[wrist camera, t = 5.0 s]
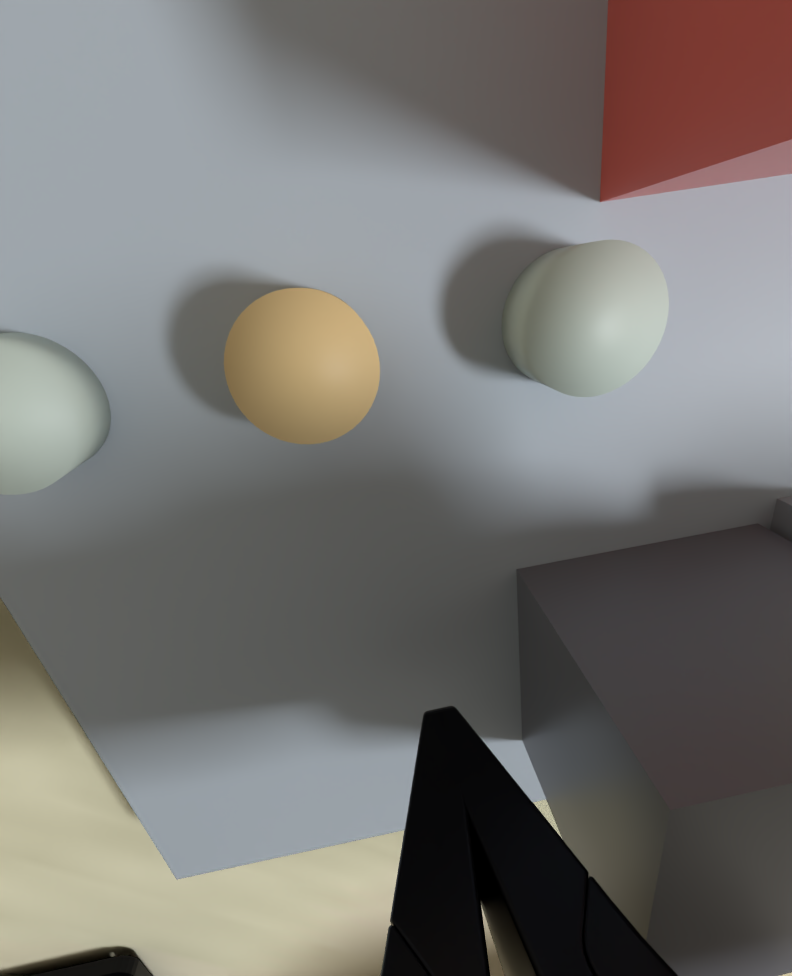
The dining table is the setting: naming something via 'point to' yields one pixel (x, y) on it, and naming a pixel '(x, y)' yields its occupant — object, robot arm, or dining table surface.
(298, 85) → the panel
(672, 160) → the coral cube
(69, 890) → the dining table surface
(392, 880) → the dining table surface
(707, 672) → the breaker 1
